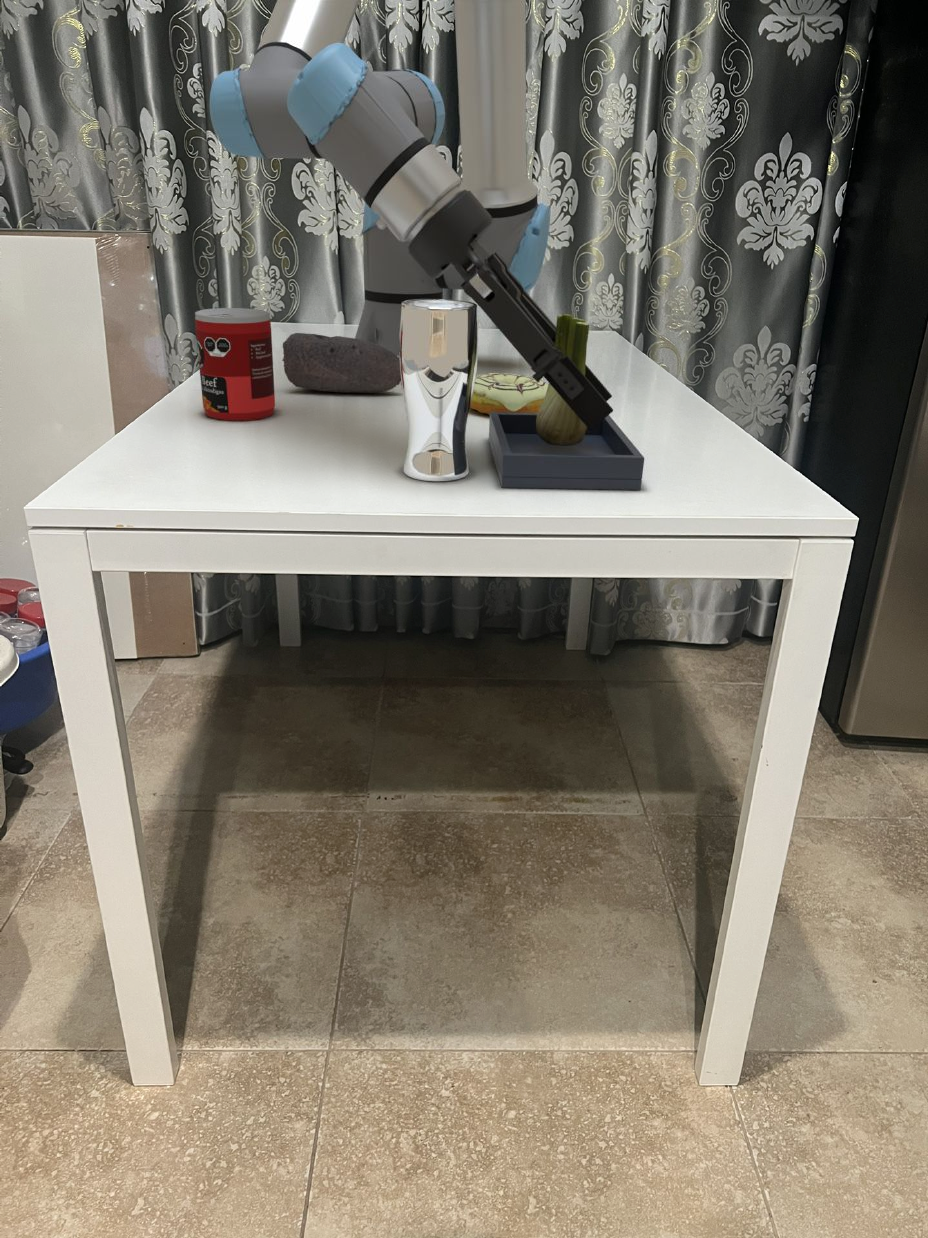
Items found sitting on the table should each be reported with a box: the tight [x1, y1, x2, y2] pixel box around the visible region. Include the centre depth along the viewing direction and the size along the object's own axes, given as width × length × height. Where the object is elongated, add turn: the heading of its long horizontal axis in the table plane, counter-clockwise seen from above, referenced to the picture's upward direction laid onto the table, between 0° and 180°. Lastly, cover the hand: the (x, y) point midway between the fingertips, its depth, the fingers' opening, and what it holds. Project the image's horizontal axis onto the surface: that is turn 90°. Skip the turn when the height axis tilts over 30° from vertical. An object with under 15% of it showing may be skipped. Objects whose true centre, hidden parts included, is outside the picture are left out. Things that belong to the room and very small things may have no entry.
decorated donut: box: [470, 372, 549, 416], centre depth 108 cm, size 10×11×4 cm
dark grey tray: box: [488, 412, 645, 491], centre depth 88 cm, size 17×13×3 cm
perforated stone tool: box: [281, 332, 401, 394], centre depth 114 cm, size 15×5×7 cm, turn 84°
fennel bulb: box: [536, 313, 590, 446], centre depth 85 cm, size 6×5×12 cm
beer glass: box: [399, 298, 479, 482], centre depth 81 cm, size 7×7×15 cm
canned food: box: [194, 307, 276, 422], centre depth 101 cm, size 8×8×11 cm
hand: (601, 411), depth 86 cm, fingers closed on fennel bulb, 6 cm apart
